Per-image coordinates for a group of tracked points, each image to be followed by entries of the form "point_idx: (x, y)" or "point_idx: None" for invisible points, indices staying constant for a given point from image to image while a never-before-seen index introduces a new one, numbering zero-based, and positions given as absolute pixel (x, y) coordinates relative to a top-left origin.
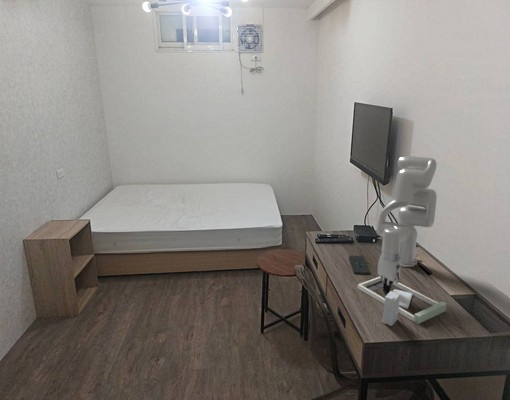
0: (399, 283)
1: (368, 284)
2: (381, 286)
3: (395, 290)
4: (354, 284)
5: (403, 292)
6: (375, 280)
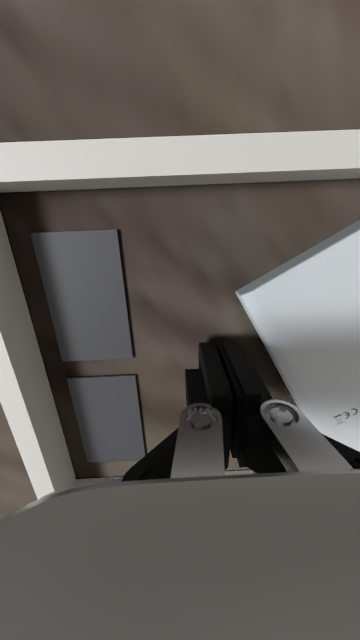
0: (230, 156)
1: (52, 424)
2: (117, 336)
3: (270, 306)
4: (4, 477)
5: (351, 263)
6: (17, 353)
